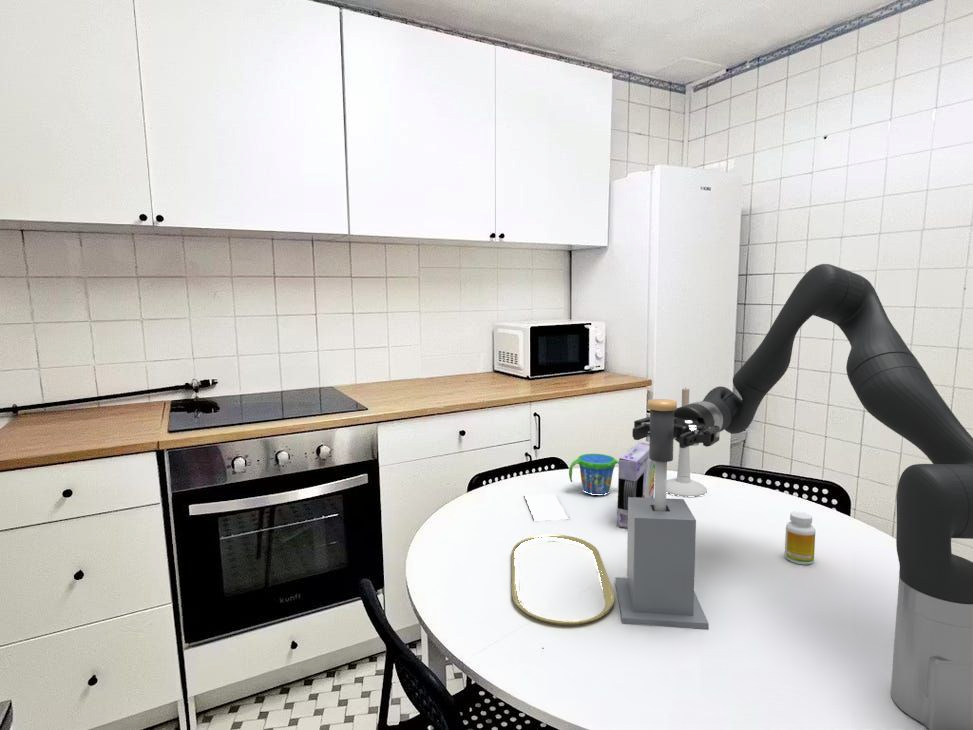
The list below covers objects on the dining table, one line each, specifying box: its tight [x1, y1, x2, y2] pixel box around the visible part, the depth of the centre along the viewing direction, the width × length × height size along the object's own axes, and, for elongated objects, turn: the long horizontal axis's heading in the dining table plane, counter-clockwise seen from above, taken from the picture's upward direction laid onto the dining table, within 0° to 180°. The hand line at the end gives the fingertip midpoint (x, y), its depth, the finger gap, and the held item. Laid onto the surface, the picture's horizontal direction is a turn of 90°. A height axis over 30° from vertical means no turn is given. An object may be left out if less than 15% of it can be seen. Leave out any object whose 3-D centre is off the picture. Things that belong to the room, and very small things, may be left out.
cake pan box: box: [616, 440, 655, 529], centre depth 139 cm, size 19×5×18 cm, turn 148°
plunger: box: [647, 398, 678, 511], centre depth 97 cm, size 5×5×27 cm
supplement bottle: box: [784, 511, 816, 565], centre depth 115 cm, size 5×5×10 cm
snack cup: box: [568, 453, 619, 494], centre depth 157 cm, size 16×10×10 cm
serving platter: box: [511, 534, 616, 626], centre depth 110 cm, size 19×35×2 cm, turn 178°
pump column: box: [614, 497, 710, 630], centre depth 98 cm, size 14×14×18 cm
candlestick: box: [666, 387, 708, 497], centre depth 157 cm, size 13×13×30 cm
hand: (657, 438), depth 95 cm, fingers open, 8 cm apart
